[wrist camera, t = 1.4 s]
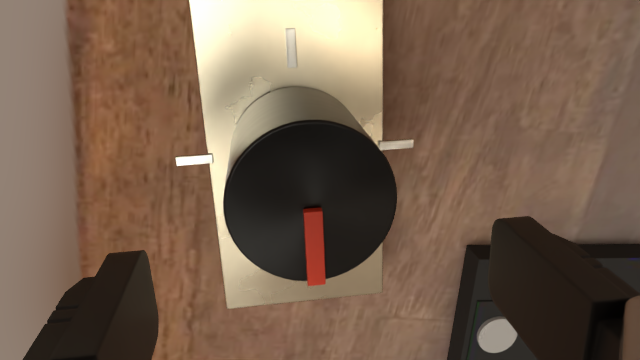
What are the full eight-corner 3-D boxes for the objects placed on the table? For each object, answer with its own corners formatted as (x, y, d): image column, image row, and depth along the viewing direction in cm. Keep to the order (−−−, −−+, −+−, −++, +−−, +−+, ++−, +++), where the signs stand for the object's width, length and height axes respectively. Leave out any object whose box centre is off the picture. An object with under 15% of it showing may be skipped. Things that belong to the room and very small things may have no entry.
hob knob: (223, 90, 19) (212, 129, 14) (361, 82, 20) (402, 116, 14) (237, 217, 21) (231, 296, 15) (362, 206, 21) (399, 278, 16)
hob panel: (160, -32, 20) (146, -36, 17) (398, -41, 21) (417, -46, 18) (204, 282, 25) (198, 314, 22) (394, 263, 26) (409, 292, 23)
